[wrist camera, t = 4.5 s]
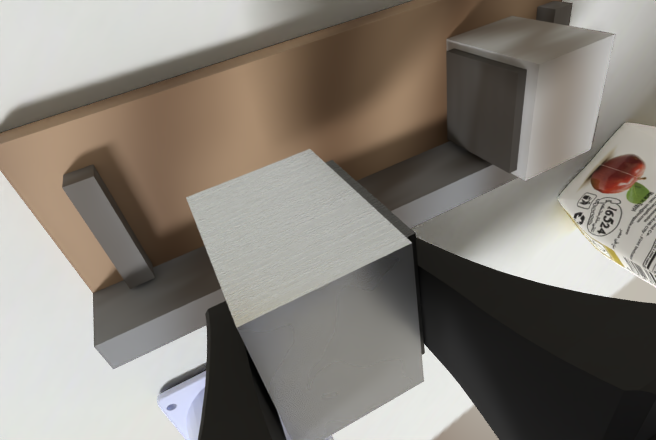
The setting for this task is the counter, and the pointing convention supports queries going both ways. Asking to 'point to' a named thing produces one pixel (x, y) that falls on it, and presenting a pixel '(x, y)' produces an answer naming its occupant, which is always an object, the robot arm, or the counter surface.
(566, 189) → the juice carton
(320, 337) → the matte gray brick
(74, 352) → the counter surface
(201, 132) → the rail
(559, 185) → the counter surface
